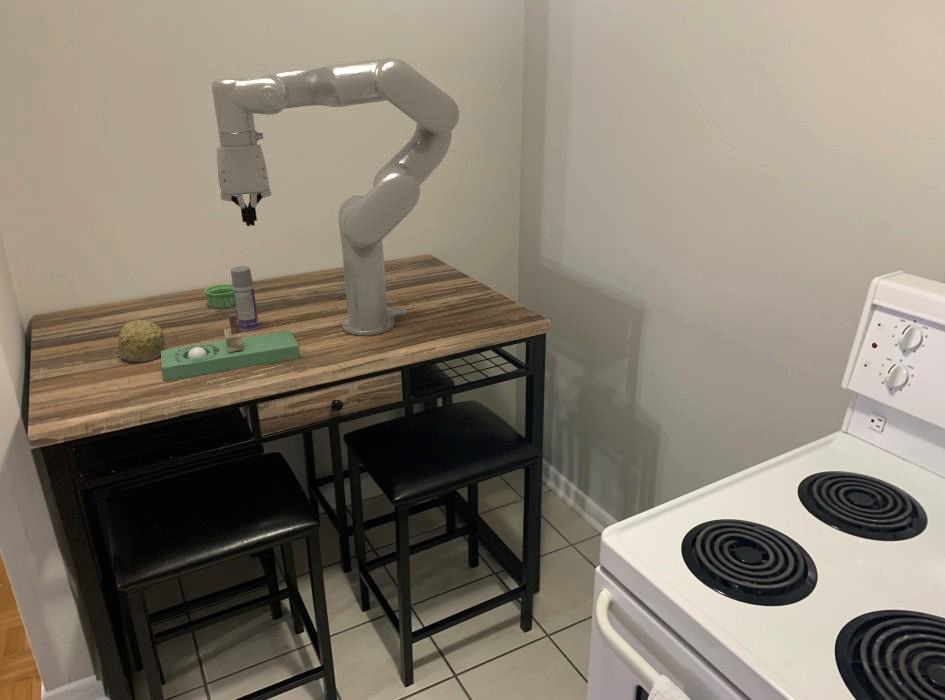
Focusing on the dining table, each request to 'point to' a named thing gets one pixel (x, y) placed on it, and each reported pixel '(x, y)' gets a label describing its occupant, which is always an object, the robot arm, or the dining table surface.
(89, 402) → the dining table surface
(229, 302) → the ramekin
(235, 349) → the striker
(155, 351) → the rock
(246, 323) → the container
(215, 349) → the putting green
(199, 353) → the golf ball
